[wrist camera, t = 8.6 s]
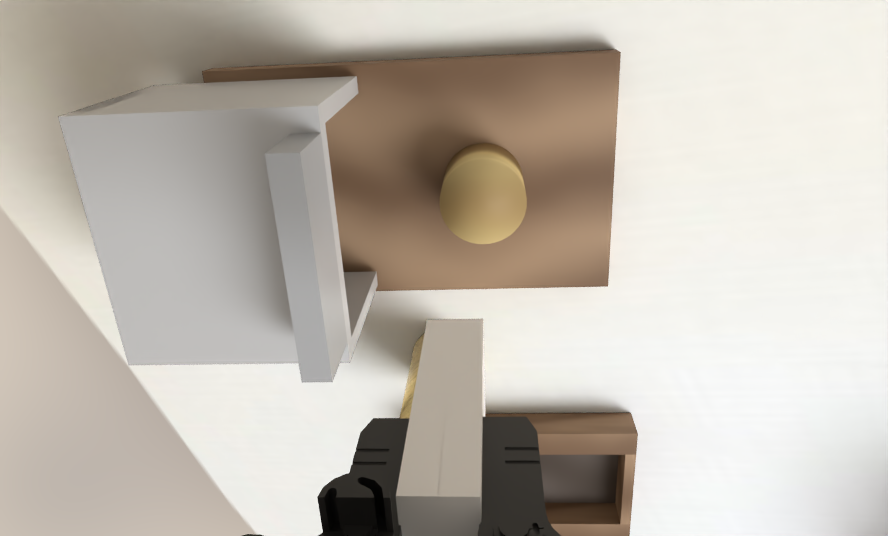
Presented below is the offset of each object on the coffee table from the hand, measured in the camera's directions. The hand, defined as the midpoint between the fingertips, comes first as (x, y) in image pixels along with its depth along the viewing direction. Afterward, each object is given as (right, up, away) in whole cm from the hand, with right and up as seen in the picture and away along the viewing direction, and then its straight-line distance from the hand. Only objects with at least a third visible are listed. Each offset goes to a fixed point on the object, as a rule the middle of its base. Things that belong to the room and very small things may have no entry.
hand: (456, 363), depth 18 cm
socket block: (+5, -10, +24) cm, 27 cm away
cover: (-9, +7, +16) cm, 20 cm away
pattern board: (-2, +7, +17) cm, 18 cm away
